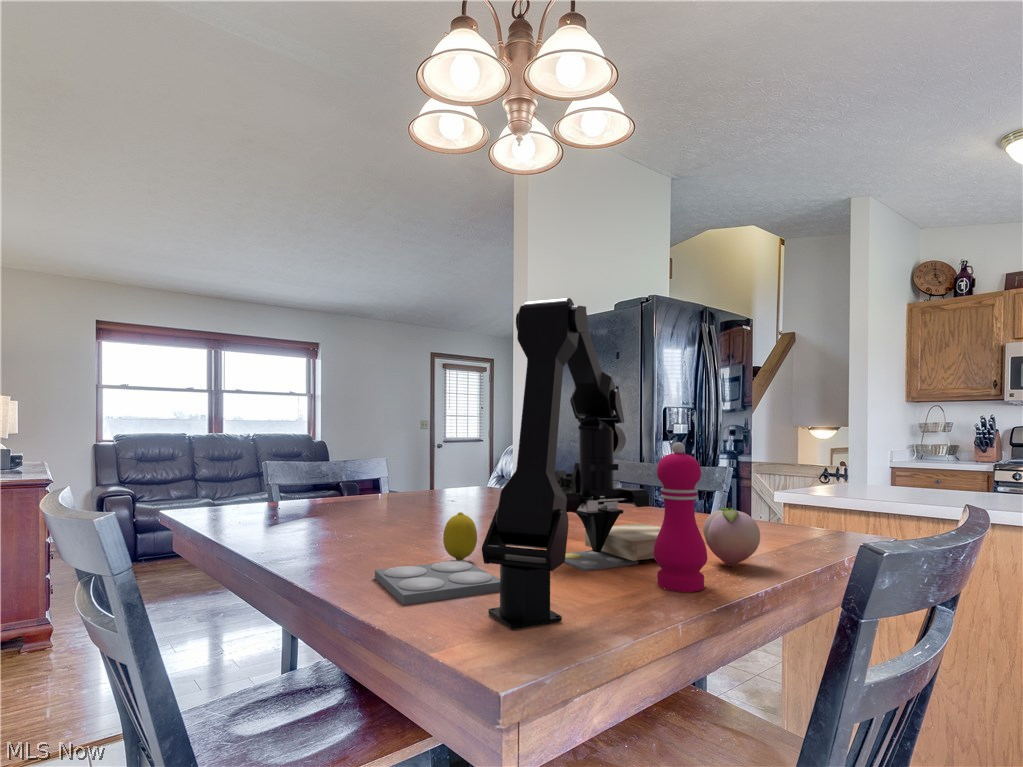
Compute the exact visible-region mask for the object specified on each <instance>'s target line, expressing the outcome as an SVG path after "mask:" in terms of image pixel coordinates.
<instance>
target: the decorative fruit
mask: <svg viewBox="0 0 1023 767" xmlns="http://www.w3.org/2000/svg"><path fill="white" fill-rule="evenodd" d="M702 532H703V536H704V537H703V538H704V539H705V542H706V543H705V544H706V545H707V547H708V548H709V550H710V551H711V552H712V553H713V554H714V556H715V557H717V558H718V559H720V560H721V561H722V562H723V563H724V564H725V565H727V566H730V567H732V566H734V565H737V564H738V563H742V562H743V561H746V560H747V559H749V558H750V557H751V556H752V555H754V554H755V553H756V551H757V550H758V548H759V546H760V542H761V531H760V528H759V526H758V524H757V522H756V521H755V519H754V518H752V517H751V516H750V515H749V514H747V512H743V511H741V510H740V511H739V510H736V509H734V508H732V507H731V503H730V502H728V503H727V507H720V509H719V510H716V511H713V512H712V513H710V514H709V515H708V516H707V518H706V519H705V521H704V524H703V527H702Z"/></svg>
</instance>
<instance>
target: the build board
mask: <svg viewBox="0 0 1023 767" xmlns="http://www.w3.org/2000/svg"><path fill="white" fill-rule="evenodd" d="M374 579H375V580H376V581H377V582H378V583H379V584H380V585H381V586H382V587H383V588H384V587H385V588H384V589H386V591H388V593H390V595H391V596H393V597H394V598H395V599H396V600H397V601H398V602H399V603H401V605H402V606H407V605H413V604H421V603H427V602H429V603H430V602H436V601H441V600H450V599H456V598H463V597H470V596H478V595H483V594H484V595H485V594H491V593H498V592H499V593H500V577H499V578H498V577H497V576H495V575H493V574H491V573H489V572H488V571H486V570H483V569H481V568H480V567H478V566H477V565H474V564H472V563H471V562H468V561H467V560H465V559H464V560H460V561H457V560H454V561H453V560H448V561H440V562H436V563H426V564H416V565H403V566H396V567H390V568H381V569H375V570H374Z"/></svg>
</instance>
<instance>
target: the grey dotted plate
mask: <svg viewBox="0 0 1023 767" xmlns="http://www.w3.org/2000/svg"><path fill="white" fill-rule="evenodd" d="M563 564H566V565H567V566H570V567H573V568H574V569H575V568H576V569H579V570H580V571H582V572H583V571H584V572H589V571H596V570H597V571H598V570H605V569H611V568H620V567H626V566H627V567H628V566H634V565H635V566H636V565H638V564H639V560H635V561H632V560H629V559H626V558H623V557H620V556H616V555H613V554H610V553H607V552H604V551H601V552H597V553H596V552H594V551H593V550H592V549H591V550H590V549H589V550H581V551H580V550H579V551H574V552H566V555H565V562H564V563H563Z"/></svg>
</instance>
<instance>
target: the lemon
mask: <svg viewBox="0 0 1023 767" xmlns="http://www.w3.org/2000/svg"><path fill="white" fill-rule="evenodd" d="M442 540H443V542H442V543H443V545H444V550H445V551H446V552H447V554H448V555H449V556H450V557H452V558H454V559H455V561H460V560H465V559H466V558H468V557H469V556H471V554H473V553H474V551H475V549H476V546H477V543H478V531H477V527H476V524H475V522H474V520H473V519H472V518H471V517H469V515H466V514H465V513H463V512H461V511H460V512H458V513H457V514H455V515H453V516H451V517H450V518H449V519H448V521H447V522H446V524H445V526H444V529H443V537H442Z"/></svg>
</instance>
